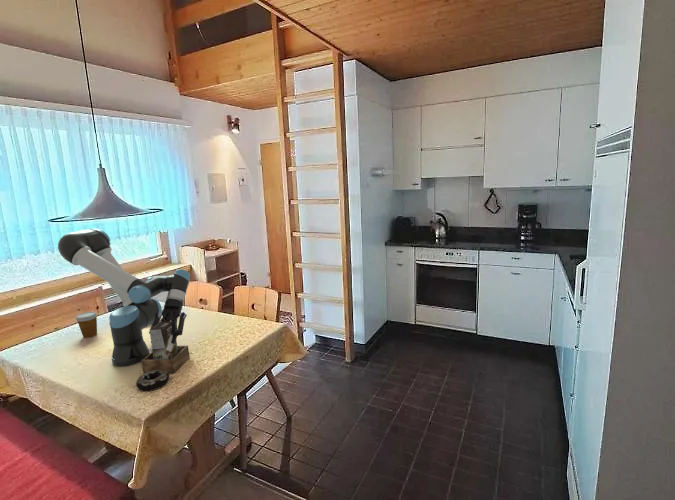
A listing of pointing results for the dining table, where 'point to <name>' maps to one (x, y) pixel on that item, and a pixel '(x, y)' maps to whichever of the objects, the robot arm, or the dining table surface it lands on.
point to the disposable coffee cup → (88, 324)
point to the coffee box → (162, 341)
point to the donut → (152, 380)
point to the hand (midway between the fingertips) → (160, 350)
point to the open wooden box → (166, 362)
